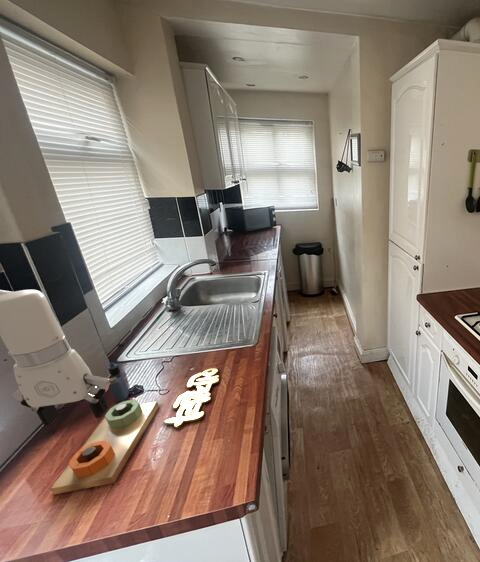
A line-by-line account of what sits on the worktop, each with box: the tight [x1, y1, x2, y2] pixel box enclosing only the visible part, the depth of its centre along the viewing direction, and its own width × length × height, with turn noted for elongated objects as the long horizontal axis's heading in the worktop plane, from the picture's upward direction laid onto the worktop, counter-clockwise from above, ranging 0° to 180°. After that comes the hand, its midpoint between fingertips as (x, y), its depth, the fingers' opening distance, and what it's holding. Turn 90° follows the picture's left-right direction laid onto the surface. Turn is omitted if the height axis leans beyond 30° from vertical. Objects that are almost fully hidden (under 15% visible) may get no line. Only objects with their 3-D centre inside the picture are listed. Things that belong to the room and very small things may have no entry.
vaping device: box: [107, 362, 130, 404], centre depth 94 cm, size 3×5×12 cm, turn 21°
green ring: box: [104, 399, 142, 429], centre depth 86 cm, size 7×7×3 cm
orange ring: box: [68, 440, 115, 478], centre depth 73 cm, size 7×7×3 cm
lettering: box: [164, 367, 220, 429], centre depth 96 cm, size 25×10×1 cm, turn 10°
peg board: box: [50, 401, 160, 496], centre depth 79 cm, size 12×24×6 cm, turn 12°
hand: (77, 416), depth 67 cm, fingers open, 9 cm apart
